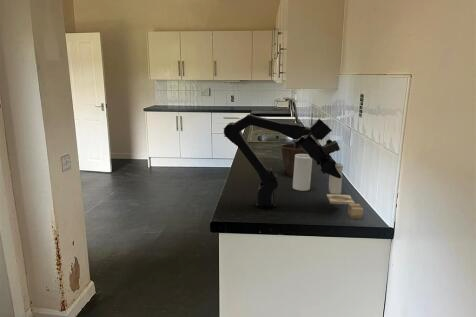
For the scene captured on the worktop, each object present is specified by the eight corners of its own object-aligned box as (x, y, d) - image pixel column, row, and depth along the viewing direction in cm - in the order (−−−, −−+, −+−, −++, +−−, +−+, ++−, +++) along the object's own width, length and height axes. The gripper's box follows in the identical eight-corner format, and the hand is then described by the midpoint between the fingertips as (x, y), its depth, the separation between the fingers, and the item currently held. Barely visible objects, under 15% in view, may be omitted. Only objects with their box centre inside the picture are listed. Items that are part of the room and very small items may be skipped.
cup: (299, 184, 176) (302, 153, 173) (313, 188, 170) (316, 156, 167) (289, 187, 171) (291, 155, 167) (302, 191, 165) (305, 158, 161)
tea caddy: (330, 193, 141) (332, 166, 138) (328, 189, 146) (329, 162, 144) (341, 193, 140) (342, 166, 138) (338, 189, 146) (340, 163, 143)
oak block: (362, 219, 134) (363, 209, 133) (351, 219, 134) (352, 209, 134) (358, 213, 140) (359, 203, 139) (348, 213, 140) (348, 203, 139)
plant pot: (285, 170, 204) (286, 142, 200) (311, 173, 198) (312, 144, 194) (276, 176, 191) (277, 147, 187) (303, 179, 185) (304, 149, 181)
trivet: (354, 204, 149) (354, 202, 149) (330, 203, 150) (330, 201, 150) (349, 196, 159) (349, 194, 159) (326, 196, 160) (326, 194, 160)
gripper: (331, 138, 129) (360, 168, 131) (324, 130, 147) (349, 156, 149) (309, 158, 132) (337, 187, 133) (304, 149, 150) (329, 174, 151)
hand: (339, 175), depth 142 cm, fingers closed on tea caddy, 5 cm apart
